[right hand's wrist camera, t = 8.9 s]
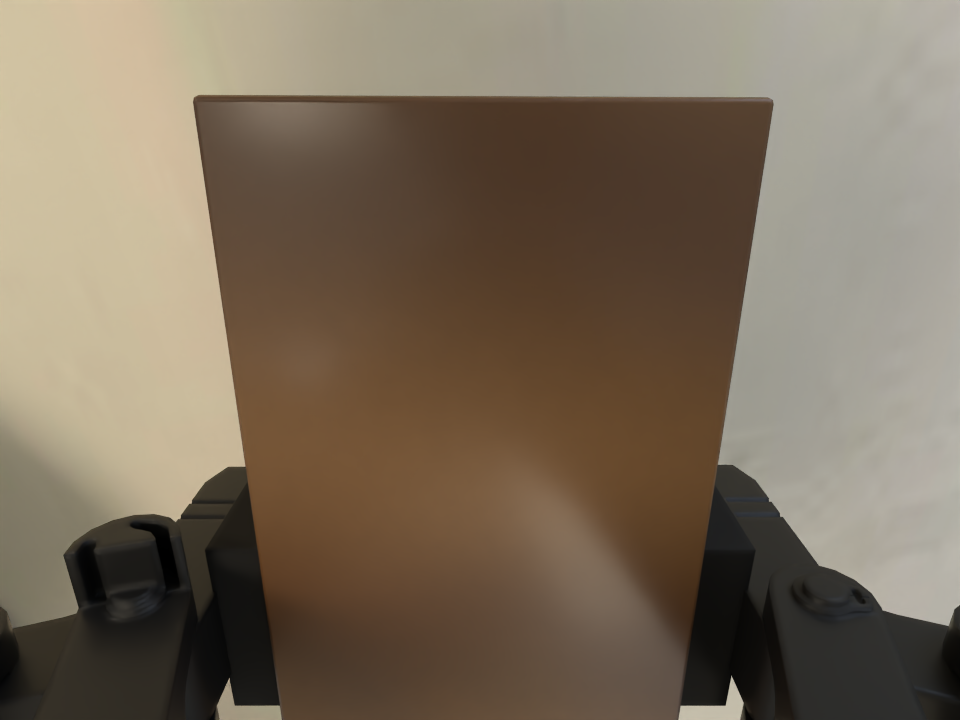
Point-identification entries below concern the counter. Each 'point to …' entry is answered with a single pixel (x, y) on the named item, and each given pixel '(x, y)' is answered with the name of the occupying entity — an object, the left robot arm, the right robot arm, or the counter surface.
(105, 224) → the counter surface
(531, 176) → the bar
